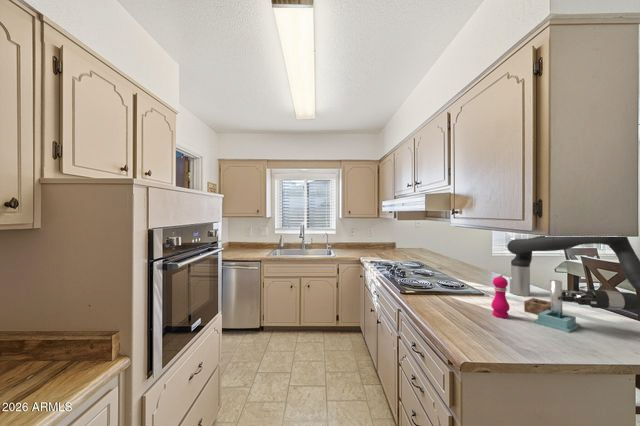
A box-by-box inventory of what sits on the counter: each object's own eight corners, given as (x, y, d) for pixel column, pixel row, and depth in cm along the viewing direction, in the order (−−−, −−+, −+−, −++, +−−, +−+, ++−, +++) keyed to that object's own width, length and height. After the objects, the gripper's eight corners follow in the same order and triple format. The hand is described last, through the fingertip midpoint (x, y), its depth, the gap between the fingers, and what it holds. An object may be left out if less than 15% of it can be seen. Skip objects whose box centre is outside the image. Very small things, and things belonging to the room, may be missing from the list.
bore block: (524, 311, 137) (524, 301, 137) (533, 307, 142) (533, 298, 142) (549, 317, 128) (549, 306, 128) (557, 313, 133) (557, 303, 133)
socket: (534, 322, 122) (534, 313, 122) (545, 317, 128) (545, 308, 128) (568, 332, 112) (568, 322, 112) (579, 326, 118) (579, 317, 118)
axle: (549, 321, 121) (548, 280, 121) (552, 319, 123) (552, 279, 123) (560, 324, 117) (559, 282, 118) (564, 322, 119) (563, 281, 120)
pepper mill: (489, 316, 130) (489, 273, 130) (493, 312, 135) (493, 271, 136) (508, 320, 125) (507, 276, 125) (510, 315, 131) (510, 273, 131)
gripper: (594, 286, 122) (549, 283, 127) (616, 295, 108) (565, 291, 113) (594, 303, 122) (549, 299, 127) (616, 314, 108) (565, 309, 113)
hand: (557, 295), depth 120 cm, fingers open, 8 cm apart
